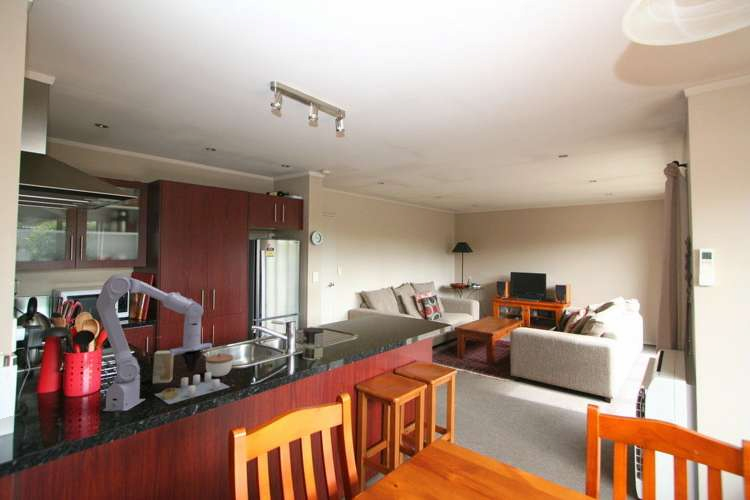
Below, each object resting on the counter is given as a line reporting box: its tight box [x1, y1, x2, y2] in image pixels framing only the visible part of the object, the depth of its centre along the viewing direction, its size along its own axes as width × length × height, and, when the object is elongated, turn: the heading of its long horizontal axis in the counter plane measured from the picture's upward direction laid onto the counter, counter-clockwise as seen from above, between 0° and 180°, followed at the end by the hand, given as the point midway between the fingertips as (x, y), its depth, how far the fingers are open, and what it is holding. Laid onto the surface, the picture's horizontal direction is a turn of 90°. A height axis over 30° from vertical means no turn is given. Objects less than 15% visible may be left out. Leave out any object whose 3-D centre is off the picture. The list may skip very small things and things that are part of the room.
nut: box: [161, 387, 178, 400], centre depth 129 cm, size 4×5×2 cm
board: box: [154, 371, 230, 405], centre depth 136 cm, size 22×13×4 cm, turn 141°
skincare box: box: [152, 350, 175, 384], centre depth 145 cm, size 6×4×12 cm
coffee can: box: [302, 327, 324, 361], centre depth 185 cm, size 10×10×14 cm
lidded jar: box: [205, 352, 234, 378], centre depth 155 cm, size 11×11×9 cm
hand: (190, 371), depth 135 cm, fingers closed
